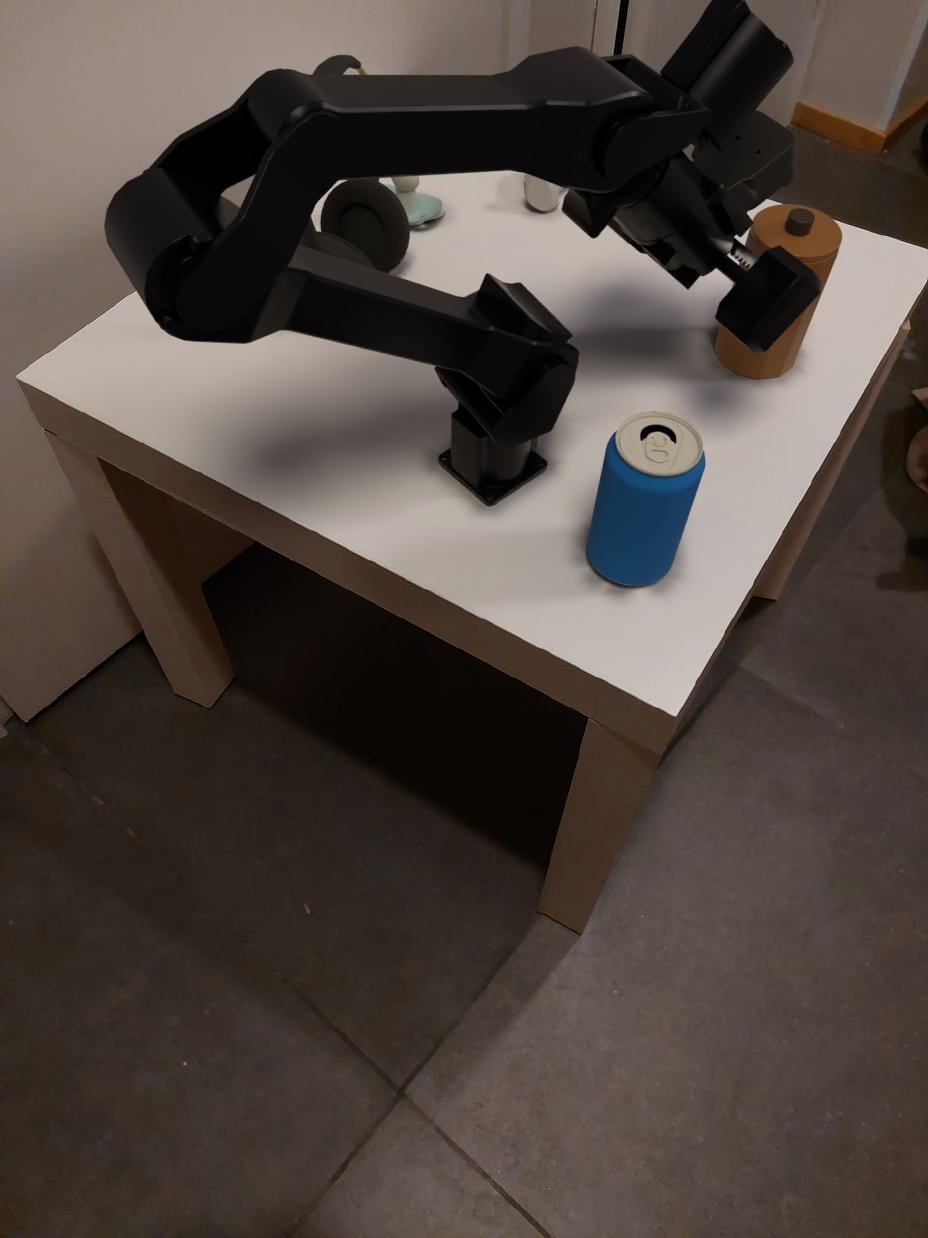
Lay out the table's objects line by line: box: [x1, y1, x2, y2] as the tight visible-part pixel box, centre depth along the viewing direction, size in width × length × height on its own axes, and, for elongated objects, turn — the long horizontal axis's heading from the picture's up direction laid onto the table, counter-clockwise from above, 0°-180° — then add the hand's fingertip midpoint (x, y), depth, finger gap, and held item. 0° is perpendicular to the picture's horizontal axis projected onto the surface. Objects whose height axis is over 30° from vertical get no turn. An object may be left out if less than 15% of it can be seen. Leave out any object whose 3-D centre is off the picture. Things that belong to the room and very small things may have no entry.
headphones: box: [298, 54, 411, 274], centre depth 76 cm, size 9×15×20 cm, turn 160°
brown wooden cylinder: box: [713, 203, 843, 380], centre depth 75 cm, size 7×7×13 cm
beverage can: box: [586, 410, 706, 587], centre depth 63 cm, size 6×6×12 cm
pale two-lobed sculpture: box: [524, 173, 563, 212], centre depth 93 cm, size 4×8×5 cm
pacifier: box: [384, 176, 446, 227], centre depth 89 cm, size 7×6×6 cm
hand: (740, 291), depth 73 cm, fingers open, 9 cm apart
